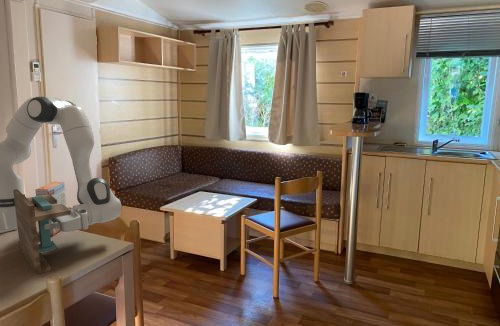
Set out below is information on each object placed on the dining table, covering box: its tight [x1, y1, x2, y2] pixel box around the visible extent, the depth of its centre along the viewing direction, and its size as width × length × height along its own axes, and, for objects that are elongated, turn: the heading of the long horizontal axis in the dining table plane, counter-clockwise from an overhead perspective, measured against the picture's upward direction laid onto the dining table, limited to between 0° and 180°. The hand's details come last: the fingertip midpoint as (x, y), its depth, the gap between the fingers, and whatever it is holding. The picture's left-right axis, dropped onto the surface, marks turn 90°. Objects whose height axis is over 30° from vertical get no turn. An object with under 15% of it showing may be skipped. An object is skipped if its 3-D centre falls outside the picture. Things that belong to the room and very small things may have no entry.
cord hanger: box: [31, 195, 58, 254], centre depth 144 cm, size 6×16×18 cm, turn 40°
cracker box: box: [35, 181, 68, 237], centre depth 171 cm, size 14×6×21 cm, turn 178°
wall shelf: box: [13, 189, 71, 275], centre depth 144 cm, size 12×28×24 cm, turn 40°
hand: (40, 223), depth 143 cm, fingers open, 8 cm apart
